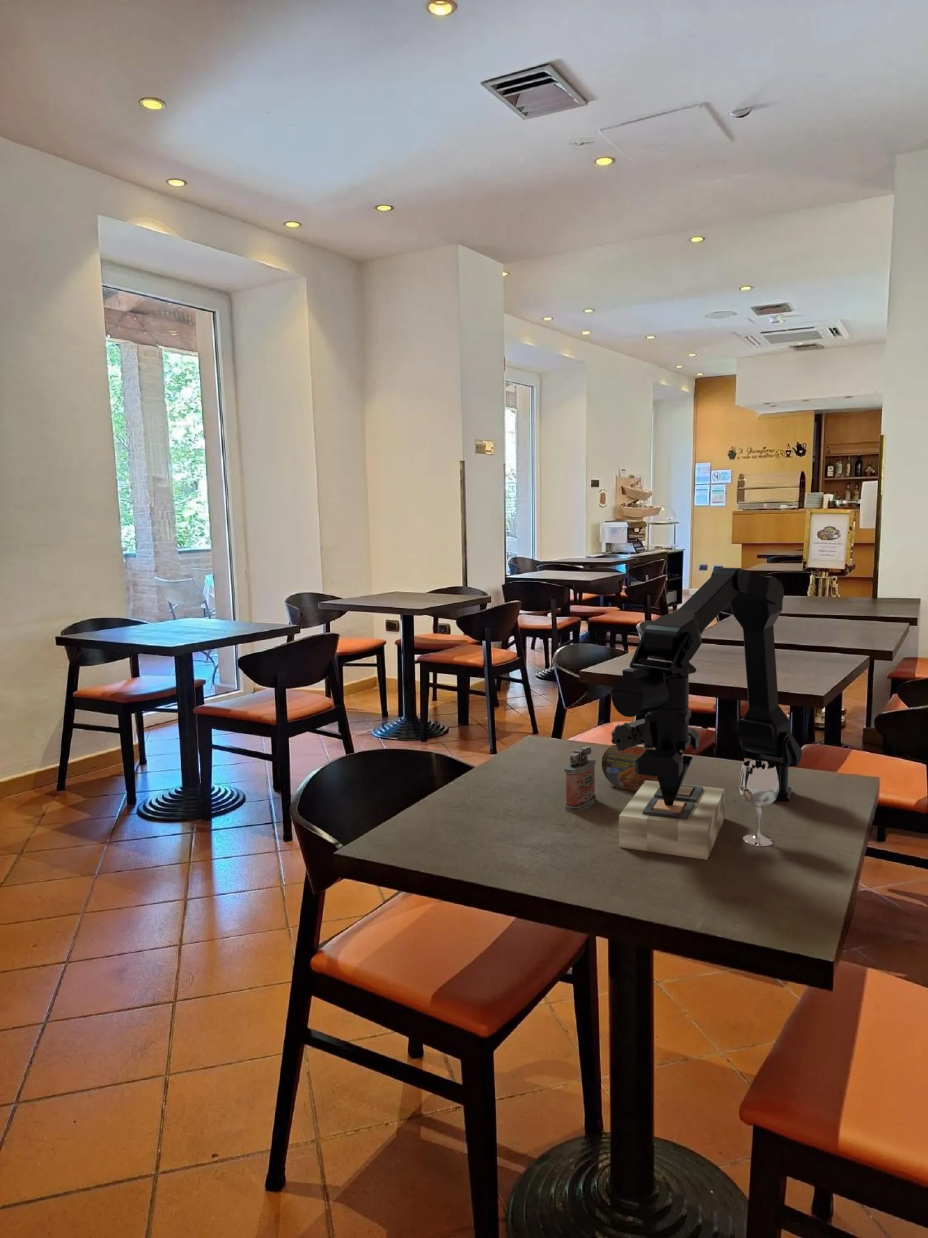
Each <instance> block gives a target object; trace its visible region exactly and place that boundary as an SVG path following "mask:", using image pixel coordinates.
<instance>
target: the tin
mask: <svg viewBox="0 0 928 1238" xmlns="http://www.w3.org/2000/svg"><path fill="white" fill-rule="evenodd" d="M646 749H652V750H655V748H644V744H640V745H637V746H633V747H629V748H626V750H623V751H618V749H617V746H616V744H612V745H610V746H609V747H608V748H607V749H606V750H605V751H604V752H603V755H602V758H601V770H602V772H603V775H604V777H605V778H606V779H607V781H608V782H609V783H610V784H611V785H613V786H614V787H616V788H617V789H618V788H619V789H623V790H627V791H628V790H629V791H635V792H637V791H638V790H639V789H640V787H641V786H642V785H643V783H644V782H645V781H646V780H647V781H656V782H659V781H658V778H657V776H649V775H639V774H637V773H635V760H636V759H637V758H638V757H639V756H640V755H641V754H642V753H643V752H644V751H645V750H646Z"/></svg>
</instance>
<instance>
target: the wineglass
mask: <svg viewBox="0 0 928 1238" xmlns="http://www.w3.org/2000/svg"><path fill="white" fill-rule="evenodd" d="M738 790H739V795H740V797H741V798H742V799H743V800H744V801H745V802H746V803H748V804H750V805H752V806H755V809H754V814H755V819H756V831H755V833H754V834H747V835H744V836H743V837H742V841H743V842H744V843H746V844H748V845H751V846H755V847H756V846H757V847H769V846H772V845H773V844H774V839H772V838H771V837H769V836H767V835H764V834H762V833H761V826H760V825H761V823H760V822H761V817H762V814H763V812H762V808H761V807H764V806H768V805H771V804H772V803H774V802H775V801H776V798H777V796H778V792H779V781H778V775H777V771H776V767H775V764H773V763H771V762H767V761H761V760H752V759H749V760H745V761H743V762H742V765H741V768H740V772H739V777H738Z"/></svg>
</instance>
